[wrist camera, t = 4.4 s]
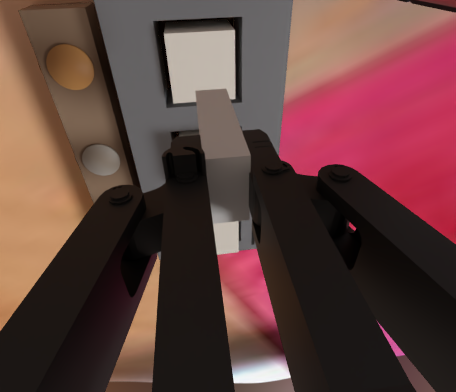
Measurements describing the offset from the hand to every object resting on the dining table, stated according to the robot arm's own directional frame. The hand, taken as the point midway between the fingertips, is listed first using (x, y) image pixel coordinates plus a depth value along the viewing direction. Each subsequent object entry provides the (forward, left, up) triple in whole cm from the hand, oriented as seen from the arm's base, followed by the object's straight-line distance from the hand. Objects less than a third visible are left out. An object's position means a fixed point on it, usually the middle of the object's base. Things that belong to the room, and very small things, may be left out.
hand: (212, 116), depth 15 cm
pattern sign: (-7, +9, -11) cm, 16 cm away
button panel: (-7, 0, -11) cm, 13 cm away
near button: (+1, 0, -11) cm, 11 cm away
